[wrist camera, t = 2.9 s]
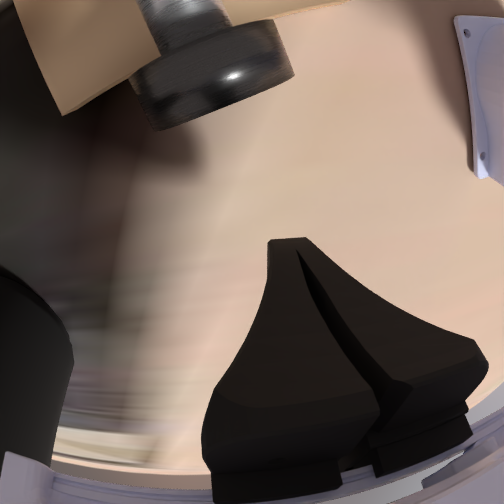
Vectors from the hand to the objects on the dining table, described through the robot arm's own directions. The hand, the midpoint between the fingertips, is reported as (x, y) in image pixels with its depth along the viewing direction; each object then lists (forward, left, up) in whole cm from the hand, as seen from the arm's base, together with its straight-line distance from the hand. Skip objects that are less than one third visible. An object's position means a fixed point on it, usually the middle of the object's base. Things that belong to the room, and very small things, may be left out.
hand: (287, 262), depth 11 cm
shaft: (+14, 0, -2) cm, 14 cm away
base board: (+19, 0, -5) cm, 20 cm away
